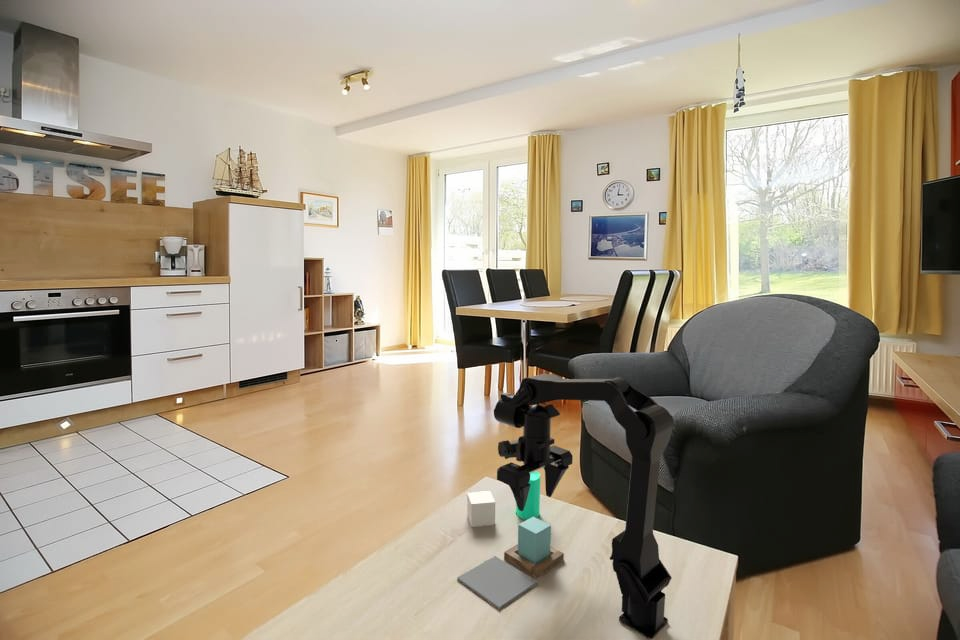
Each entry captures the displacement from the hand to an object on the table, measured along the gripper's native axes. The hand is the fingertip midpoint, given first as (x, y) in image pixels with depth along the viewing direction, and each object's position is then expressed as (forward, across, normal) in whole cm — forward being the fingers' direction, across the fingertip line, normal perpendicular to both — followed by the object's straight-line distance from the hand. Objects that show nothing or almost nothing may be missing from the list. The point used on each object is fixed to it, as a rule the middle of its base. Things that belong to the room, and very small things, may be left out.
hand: (535, 503), depth 108 cm
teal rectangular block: (+13, 0, 0) cm, 13 cm away
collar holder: (+13, 0, 0) cm, 13 cm away
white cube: (+13, -3, -20) cm, 24 cm away
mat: (+13, +12, 0) cm, 17 cm away
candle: (+13, -14, -14) cm, 24 cm away
